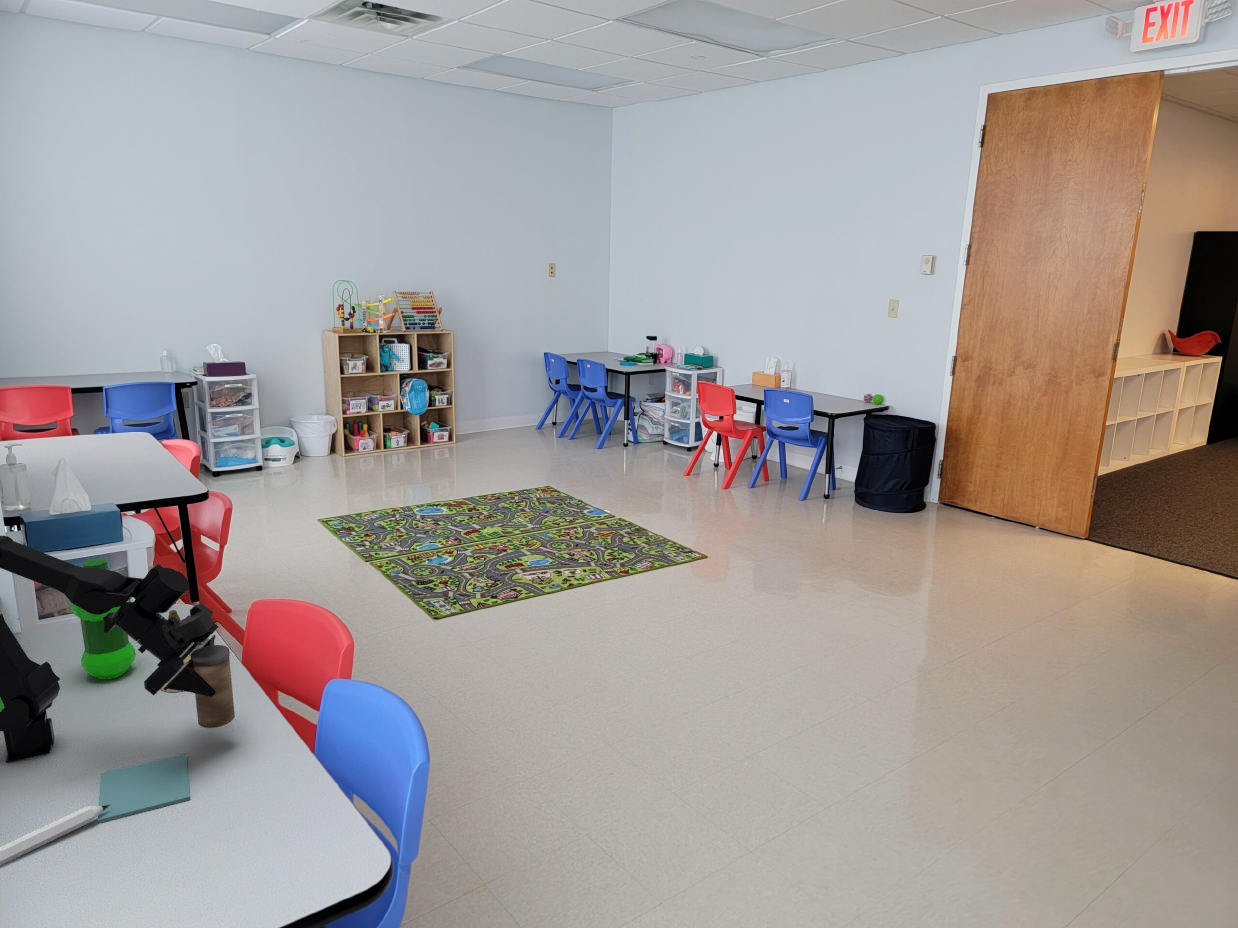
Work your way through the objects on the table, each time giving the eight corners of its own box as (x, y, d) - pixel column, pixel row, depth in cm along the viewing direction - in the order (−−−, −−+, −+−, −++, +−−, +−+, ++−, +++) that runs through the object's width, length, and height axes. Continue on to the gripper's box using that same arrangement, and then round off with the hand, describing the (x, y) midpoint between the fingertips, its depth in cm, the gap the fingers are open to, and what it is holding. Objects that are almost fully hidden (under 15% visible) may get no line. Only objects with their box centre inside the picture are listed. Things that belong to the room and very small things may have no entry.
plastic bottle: (71, 680, 180) (53, 566, 174) (116, 658, 189) (101, 550, 183) (104, 689, 176) (87, 574, 170) (149, 667, 185) (135, 557, 179)
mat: (98, 823, 135) (97, 819, 135) (101, 776, 147) (100, 773, 147) (190, 799, 141) (189, 796, 141) (186, 756, 153) (185, 753, 153)
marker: (113, 813, 138) (-5, 869, 126) (108, 803, 139) (-10, 857, 127) (114, 804, 136) (-5, 860, 125) (108, 794, 137) (-11, 848, 125)
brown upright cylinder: (198, 731, 151) (191, 663, 148) (196, 714, 157) (189, 648, 154) (237, 723, 154) (230, 656, 151) (233, 707, 160) (227, 642, 156)
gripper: (155, 620, 141) (231, 681, 144) (202, 578, 159) (268, 633, 162) (111, 665, 142) (187, 724, 145) (162, 618, 160) (229, 672, 163)
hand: (221, 685), depth 154 cm, fingers closed on brown upright cylinder, 6 cm apart
